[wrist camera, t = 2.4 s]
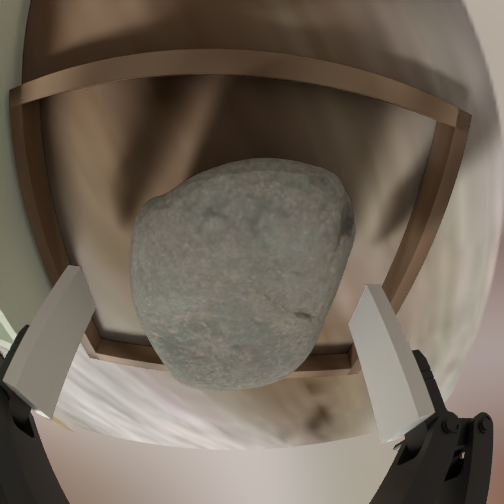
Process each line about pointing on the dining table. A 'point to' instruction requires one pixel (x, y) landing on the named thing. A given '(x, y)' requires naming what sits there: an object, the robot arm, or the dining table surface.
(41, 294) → the bin
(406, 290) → the frame
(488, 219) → the dining table surface
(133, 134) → the dining table surface
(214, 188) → the stone
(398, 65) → the dining table surface
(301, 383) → the dining table surface
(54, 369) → the robot arm
